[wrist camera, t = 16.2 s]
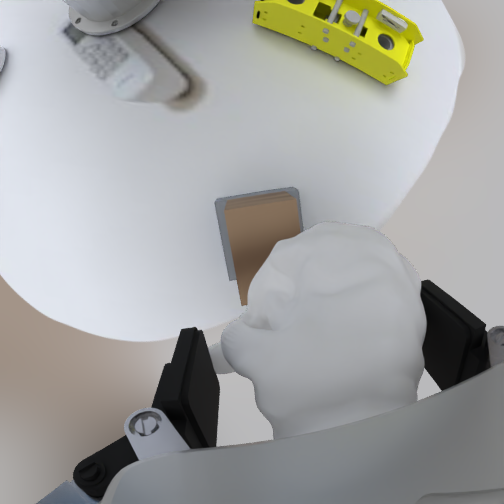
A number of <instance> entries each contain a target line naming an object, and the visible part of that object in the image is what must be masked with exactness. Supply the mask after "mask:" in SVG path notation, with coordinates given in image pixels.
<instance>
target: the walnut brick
mask: <svg viewBox="0 0 504 504" xmlns="http://www.w3.org/2000/svg"><path fill="white" fill-rule="evenodd" d="M224 214H225V219H226V225H227V230H228V236H229V241H230V247H231V252H232V258H233V263H234V268H235V273H236V279H237V284H238V289H239V294H240V300H241V305H242V306H243V305H248V290H249V286H250V284H251V282H252V280H253V278H254V276H255V275H256V273H257V272H258V271H259V269H260V268H261V267H262V265H263V264H264V262H265V261H266V259H267V258H268V256H269V255H270V253H271V251H272V250H273V248H274V246H275V245H276V243H277V242H278V241H280V240H284V239H289V238H292V237H295V236H297V235H298V234H300V233H301V232H300V223H299V215H298V207H297V200H296V198H294V197H293V196H291V195H290V194H289V193H287V192H286V191H281V192H274V193H268V194H261V195H255V196H249V197H242V198H236V199H230V200H227V202H226V206H225V209H224Z"/></svg>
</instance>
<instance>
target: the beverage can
mask: <svg viewBox="0 0 504 504" xmlns="http://www.w3.org/2000/svg"><path fill="white" fill-rule="evenodd" d="M4 61H5V50H4V48H3V47H2V46H0V72H1V70H2V68H3V65H4Z"/></svg>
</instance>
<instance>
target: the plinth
mask: <svg viewBox="0 0 504 504" xmlns="http://www.w3.org/2000/svg"><path fill="white" fill-rule="evenodd" d="M281 191H286V192H287V193H289V194H290V195H291V196H293V197H294V198H296V200H297V207H298V215H299V223H300V232H303V223H302V215H301V207H300V199H299V191H298V189H296V188H294V187H288V188H281V189H274V190H268V191H261V192H255V193H249V194H242V195H236V196H230V197H225V198H219V199H217V200H216V201H215V207H216V213H217V218H218V224H219V229H220V234H221V240H222V245H223V250H224V255H225V260H226V265H227V271H228V276H229V281H231V280H237V279H236V273H235V268H234V263H233V258H232V252H231V247H230V241H229V236H228V230H227V225H226V219H225V214H224V209H225V206H226V202H227V200H230V199H236V198H242V197H249V196H255V195H261V194H268V193H274V192H281Z"/></svg>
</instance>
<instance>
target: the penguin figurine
mask: <svg viewBox="0 0 504 504" xmlns="http://www.w3.org/2000/svg"><path fill="white" fill-rule="evenodd" d="M420 292H421V280H420V277H419V275H418V273H417V271H416V269H415V268H414V266H413V265H412V264H411V263H410V261H408V259H407V258H406V257H404V256H403V255H402V254H400V253H399V252H398V250H397V249H396V247H395V245H394V244H393V243H392V242H391V241H390V239H388V237H386V236H385V235H384V234H382V233H381V232H380V231H378V230H376V229H375V228H373V227H369V226H361V225H355V224H347V223H340V222H334V221H327V222H321V223H318V224H316V225H315V226H313V227H311V228H310V229H308V230H306V231H303V232H301V233H300V234H298V235H297V236H295V237H292V238H289V239H284V240H280V241H278V242H277V243H276V245H275V246H274V248H273V250H272V251H271V253H270V255H269V256H268V258H267V259H266V261H265V262H264V264H263V265H262V267H261V268H260V269H259V271H258V272H257V273H256V275H255V276H254V278H253V280H252V282H251V284H250V286H249V290H248V307H247V310H246V311H245V312H244V313H243V314H242V315H241V316H240V317H239V319H237V320H234V321H233V322H231V323H230V324H229V325H228V326H227V327H226V328H225V329H224V331H223V333H222V335H221V342H219V343H217V344H214V345H212V346H210V347H209V348H208V350H209V353H210V357H211V360H212V363H213V368H214V370H215V372H216V374H227V373H232V372H236V373H238V374H239V375H241V376H243V377H246V378H248V379H250V380H251V381H252V382H253V384H254V390H255V400H256V404H257V407H258V409H259V410H260V412H261V413H262V414H263V415H264V416H265V417H266V418H267V420H268V421H269V422H270V423H271V425H272V428H273V436H274V439H280V438H286V437H291V436H296V435H302V434H306V433H311V432H316V431H320V430H324V429H329V428H333V427H337V426H341V425H345V424H348V423H352V422H356V421H359V420H363V419H366V418H369V417H373V416H376V415H379V414H382V413H385V412H388V411H391V410H394V409H397V408H400V407H403V406H405V405H408V404H411V403H413V402H416V401H417V388H418V384H419V381H420V378H421V376H422V374H423V371H424V365H425V362H424V357H423V352H422V346H423V342H424V338H425V334H426V326H427V321H426V314H425V310H424V306H423V303H422V300H421V296H420Z"/></svg>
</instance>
